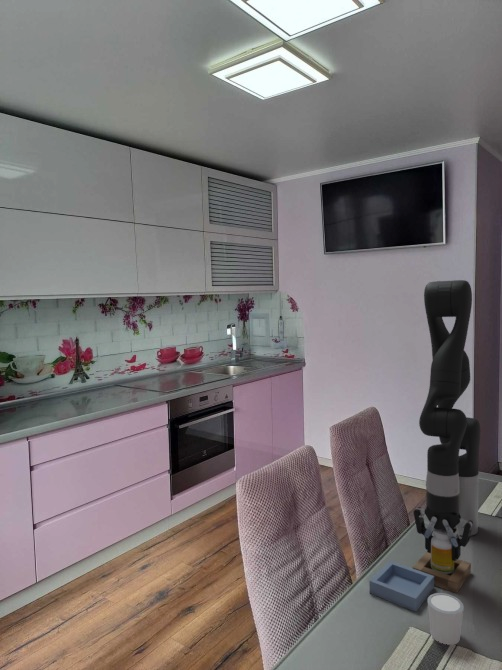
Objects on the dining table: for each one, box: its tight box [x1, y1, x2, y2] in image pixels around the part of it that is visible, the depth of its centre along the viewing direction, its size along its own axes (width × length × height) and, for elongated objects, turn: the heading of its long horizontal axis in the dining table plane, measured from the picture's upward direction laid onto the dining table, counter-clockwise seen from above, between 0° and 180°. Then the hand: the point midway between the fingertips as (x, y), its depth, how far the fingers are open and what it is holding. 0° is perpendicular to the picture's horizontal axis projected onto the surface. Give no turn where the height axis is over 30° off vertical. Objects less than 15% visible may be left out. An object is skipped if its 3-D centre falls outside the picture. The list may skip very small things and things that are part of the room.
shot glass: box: [427, 592, 464, 646], centre depth 101 cm, size 7×7×7 cm
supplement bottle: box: [430, 529, 454, 575], centre depth 122 cm, size 5×5×10 cm
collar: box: [411, 551, 472, 594], centre depth 122 cm, size 10×10×2 cm
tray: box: [369, 560, 435, 612], centre depth 116 cm, size 11×11×3 cm
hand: (442, 555), depth 122 cm, fingers closed on supplement bottle, 5 cm apart
